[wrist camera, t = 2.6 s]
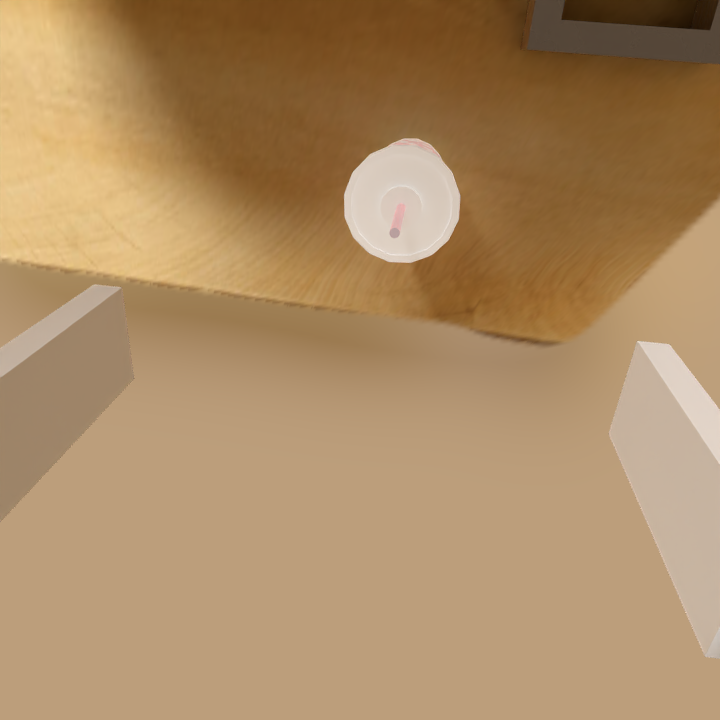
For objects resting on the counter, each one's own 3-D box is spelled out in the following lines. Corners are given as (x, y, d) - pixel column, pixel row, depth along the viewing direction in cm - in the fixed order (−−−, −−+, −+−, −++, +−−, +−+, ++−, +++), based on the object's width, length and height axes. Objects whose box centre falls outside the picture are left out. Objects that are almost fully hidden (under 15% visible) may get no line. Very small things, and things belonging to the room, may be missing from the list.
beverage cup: (345, 160, 39) (300, 211, 27) (425, 104, 37) (417, 132, 25) (395, 238, 41) (375, 319, 29) (474, 189, 39) (489, 254, 27)
